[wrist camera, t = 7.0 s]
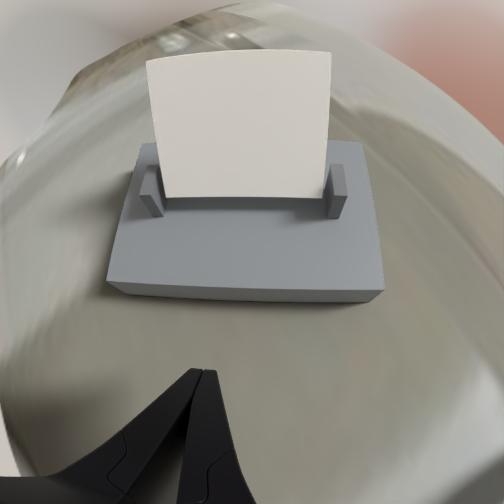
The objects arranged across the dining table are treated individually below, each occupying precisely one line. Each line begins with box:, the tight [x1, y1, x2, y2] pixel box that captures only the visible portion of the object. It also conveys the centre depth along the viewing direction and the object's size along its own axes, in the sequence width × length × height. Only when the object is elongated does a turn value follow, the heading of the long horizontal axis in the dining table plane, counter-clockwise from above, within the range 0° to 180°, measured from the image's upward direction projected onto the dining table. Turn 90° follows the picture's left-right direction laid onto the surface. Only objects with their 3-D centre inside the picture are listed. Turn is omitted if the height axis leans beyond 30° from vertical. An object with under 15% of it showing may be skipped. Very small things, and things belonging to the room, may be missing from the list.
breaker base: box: [106, 140, 385, 302], centre depth 21 cm, size 12×18×6 cm, turn 87°
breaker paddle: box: [146, 50, 331, 198], centre depth 17 cm, size 2×10×9 cm, turn 87°
